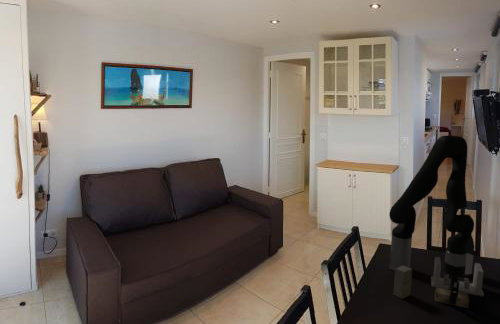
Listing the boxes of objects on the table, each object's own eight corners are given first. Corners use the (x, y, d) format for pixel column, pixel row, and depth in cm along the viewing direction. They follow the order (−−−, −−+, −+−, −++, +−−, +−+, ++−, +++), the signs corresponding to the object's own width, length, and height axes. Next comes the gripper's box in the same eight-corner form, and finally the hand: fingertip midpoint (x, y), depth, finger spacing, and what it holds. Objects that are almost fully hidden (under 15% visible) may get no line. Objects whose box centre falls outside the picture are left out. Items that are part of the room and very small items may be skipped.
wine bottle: (466, 270, 178) (472, 212, 173) (475, 278, 170) (481, 217, 165) (449, 269, 179) (455, 211, 174) (457, 277, 171) (463, 216, 166)
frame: (431, 286, 162) (433, 263, 160) (430, 278, 170) (432, 256, 168) (483, 296, 153) (486, 272, 152) (480, 287, 162) (482, 264, 160)
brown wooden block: (435, 301, 150) (435, 292, 149) (434, 296, 154) (435, 287, 154) (468, 308, 145) (469, 299, 144) (467, 302, 149) (468, 293, 148)
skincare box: (402, 299, 151) (404, 272, 149) (392, 294, 155) (394, 268, 153) (410, 295, 154) (412, 268, 153) (401, 290, 158) (403, 264, 156)
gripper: (443, 253, 155) (440, 289, 157) (446, 267, 142) (442, 305, 144) (463, 256, 152) (460, 293, 154) (468, 270, 139) (464, 309, 141)
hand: (451, 299), depth 149 cm, fingers open, 7 cm apart
